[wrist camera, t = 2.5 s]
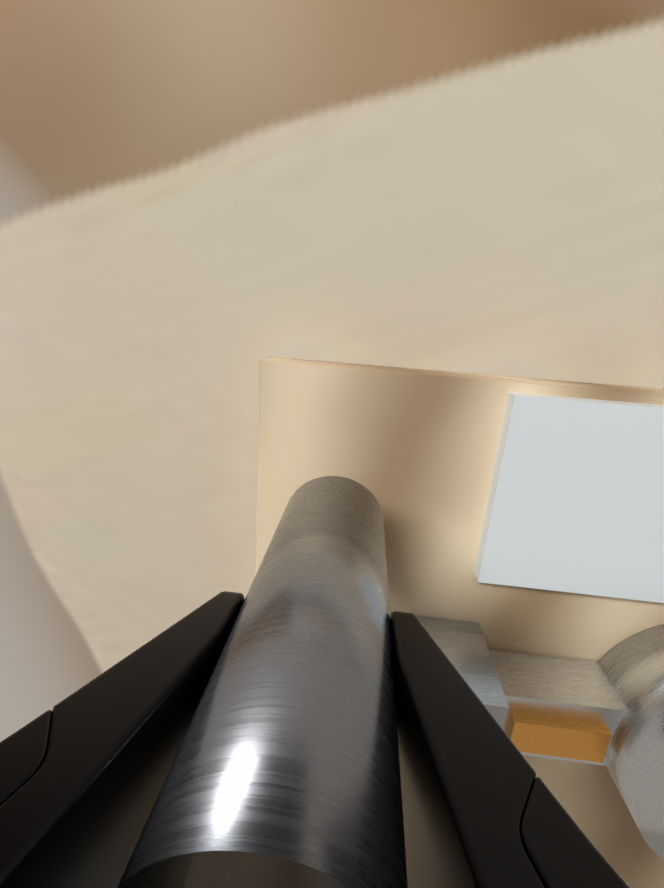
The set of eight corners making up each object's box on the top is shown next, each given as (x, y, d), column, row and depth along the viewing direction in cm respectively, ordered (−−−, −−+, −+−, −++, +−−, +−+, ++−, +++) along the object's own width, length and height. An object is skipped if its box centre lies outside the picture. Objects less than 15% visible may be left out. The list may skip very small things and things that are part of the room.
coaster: (727, 410, 13) (744, 414, 12) (663, 592, 15) (675, 604, 14) (508, 392, 13) (515, 395, 13) (473, 571, 15) (477, 582, 14)
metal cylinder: (388, 481, 11) (483, 1301, 2) (378, 571, 12) (405, 1464, 3) (286, 471, 12) (-98, 1177, 2) (282, 560, 12) (-7, 1361, 3)
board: (882, 407, 14) (943, 417, 12) (673, 863, 20) (697, 905, 19) (270, 357, 15) (259, 361, 13) (257, 801, 21) (249, 836, 20)
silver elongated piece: (821, 633, 14) (1164, 873, 8) (748, 782, 16) (977, 1066, 10) (355, 580, 15) (344, 758, 9) (340, 727, 17) (323, 955, 11)
